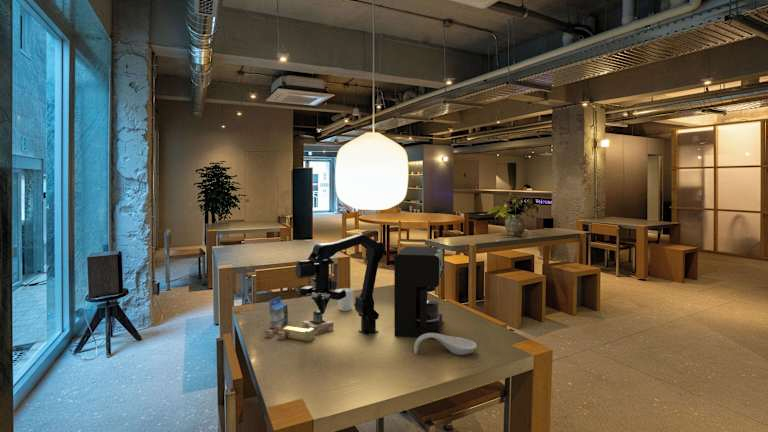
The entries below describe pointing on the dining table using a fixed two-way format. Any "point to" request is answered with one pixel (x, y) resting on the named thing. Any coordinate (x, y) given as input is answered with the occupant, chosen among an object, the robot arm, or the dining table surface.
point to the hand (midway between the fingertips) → (322, 313)
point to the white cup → (346, 300)
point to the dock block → (318, 325)
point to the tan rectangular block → (299, 333)
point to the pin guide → (276, 329)
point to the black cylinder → (317, 317)
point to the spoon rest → (449, 343)
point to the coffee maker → (417, 291)
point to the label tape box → (278, 313)
